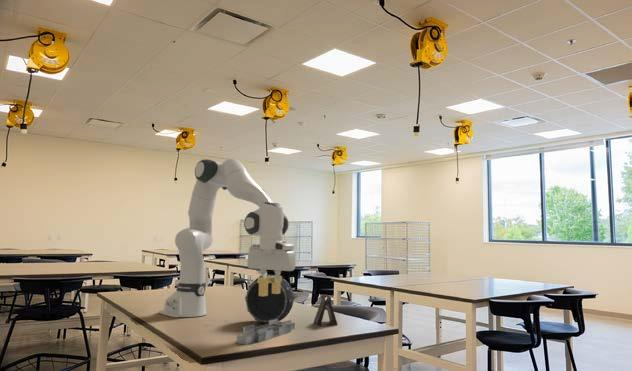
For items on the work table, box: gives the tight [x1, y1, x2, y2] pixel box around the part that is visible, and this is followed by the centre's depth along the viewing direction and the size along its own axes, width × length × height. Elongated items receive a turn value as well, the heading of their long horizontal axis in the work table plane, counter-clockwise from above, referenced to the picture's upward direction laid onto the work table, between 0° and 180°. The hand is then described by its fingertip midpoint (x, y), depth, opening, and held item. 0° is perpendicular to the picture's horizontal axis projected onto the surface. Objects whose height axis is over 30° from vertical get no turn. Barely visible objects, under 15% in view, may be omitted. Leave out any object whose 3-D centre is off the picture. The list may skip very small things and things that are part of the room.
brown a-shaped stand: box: [313, 293, 338, 326], centre depth 180 cm, size 9×6×12 cm, turn 103°
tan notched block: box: [257, 275, 283, 296], centre depth 158 cm, size 11×3×6 cm, turn 149°
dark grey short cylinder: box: [244, 274, 295, 325], centre depth 179 cm, size 11×20×20 cm, turn 78°
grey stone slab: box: [236, 318, 296, 346], centre depth 156 cm, size 30×7×4 cm, turn 149°
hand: (270, 282), depth 158 cm, fingers closed on tan notched block, 3 cm apart
